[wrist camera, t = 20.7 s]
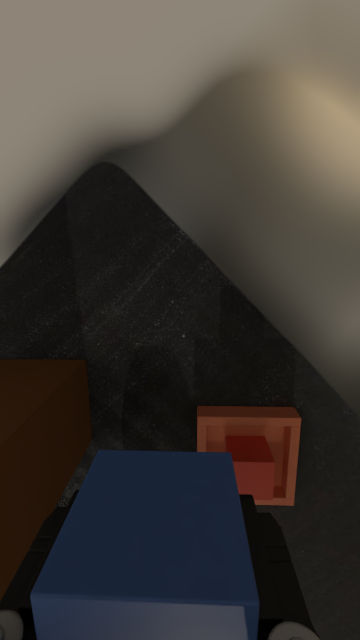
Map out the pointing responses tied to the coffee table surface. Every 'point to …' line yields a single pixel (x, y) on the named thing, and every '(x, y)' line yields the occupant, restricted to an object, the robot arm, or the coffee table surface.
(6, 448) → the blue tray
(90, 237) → the coffee table surface
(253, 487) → the red block
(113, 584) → the blue block
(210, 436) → the red tray
